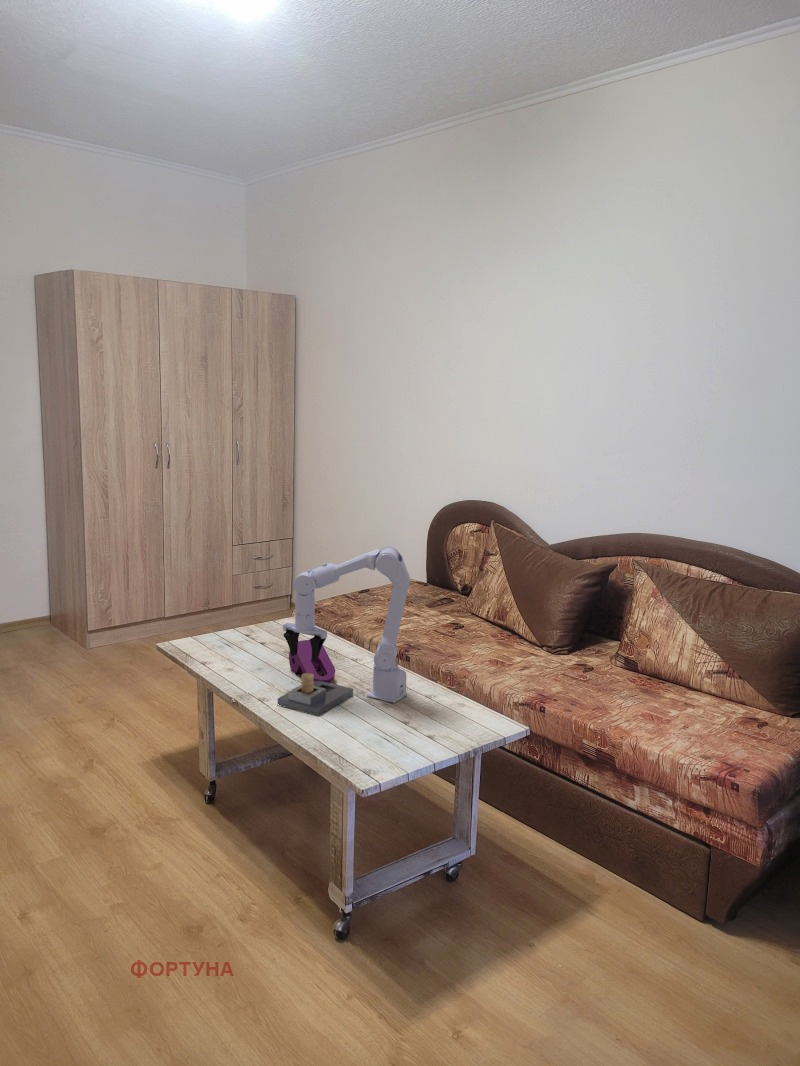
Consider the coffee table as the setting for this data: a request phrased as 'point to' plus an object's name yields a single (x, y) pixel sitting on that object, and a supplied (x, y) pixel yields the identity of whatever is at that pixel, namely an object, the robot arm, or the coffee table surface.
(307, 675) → the pin
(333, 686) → the mount plate
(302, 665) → the mounting bracket
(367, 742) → the coffee table surface
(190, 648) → the coffee table surface
